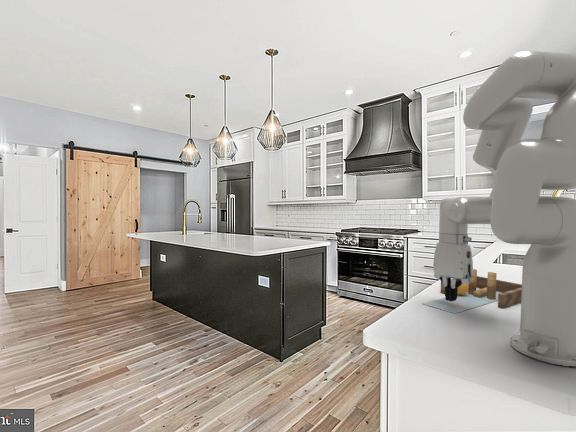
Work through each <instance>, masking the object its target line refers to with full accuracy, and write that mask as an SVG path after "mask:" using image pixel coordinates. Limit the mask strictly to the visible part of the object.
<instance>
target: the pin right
mask: <svg viewBox="0 0 576 432" xmlns="http://www.w3.org/2000/svg"><path fill="white" fill-rule="evenodd" d="M497 275H498V273H497V272H491V271H490V272H489V271H488V272H487V278H488V279H487V298H488V299H493V300H494V299H496V280H497Z"/></svg>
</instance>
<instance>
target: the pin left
mask: <svg viewBox="0 0 576 432" xmlns="http://www.w3.org/2000/svg"><path fill="white" fill-rule="evenodd" d="M477 276H478V270H477V269H474V268H473V276H472V277H471V278H470V280H471V283H470V284H468V285H469V289H468V291H467V292H468V294H471V295H473V292H474V291H476V290H477V288H476V286H477Z"/></svg>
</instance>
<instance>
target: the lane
mask: <svg viewBox="0 0 576 432" xmlns="http://www.w3.org/2000/svg"><path fill="white" fill-rule="evenodd" d="M479 289H480V288H477V290H479ZM500 293H502V292H497V291H496V299H494V300H493V299H488V298H487V295H486V296H483V297H480V298H478V297H474V296H473V295H471V294H468V291H467V293H466V294H464V295H457V299H456V300H455V301H452V302H451V301H449V300H448V301H447V300H445V297H443V298H439V299H434V300H431V301H426V302H423V303H421V304H422V305H424V304H425V305H424V306H427V305H428V306H427V307H430V306H431V307H430V308H433V309H437V310H440V309H441V310H440V311H444V312H447V313H450V314H459V313H461V312H465V311H468V310H471V309H474V308H478V307H481V306H485V305H488V304H492V303H495V302H498V294H500Z"/></svg>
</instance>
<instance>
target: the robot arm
mask: <svg viewBox="0 0 576 432" xmlns="http://www.w3.org/2000/svg"><path fill="white" fill-rule="evenodd" d="M530 99H535V100H553V101H554V100H555V101H556V102H555V103H554V104H552V106H551V107H550V109H549V110H548V112H547V113H546V115H545V117H544V120H543V124H542V132H541V135H540V139H539V138H528V139H527V138H525V139H522V137H523V135H524V133H525V131H526V128H527V126H528V123H529V121H530V119H531V116H532V115H533V108H534V106H533V103H532V101H531V100H530ZM462 120H463V124H464V125H465V127H467V129H470V130H475V131H476V130H477V131H478V130H479V131H481V133H480V135H479V138H478V142H477V144H476V146H475V148H474V152H473V155H472V160H473V162H475V163H476V164H477V165H479V166H480V167H483V168H485V169H487V170H489V171H490V172H491V174H492V176H493V186H492V189H491V191H490V194H489V196H459V197H455V198H454V197H451V198H450V197H449V198H448V197H447V198H443V199H441V200H440V202H439V221H438V222H439V227H438V229H439V232H438V242H437V243H436V245H435V249H434V255H433V264H432V265H433V266H432V267H433V268H432V269H433V277H434V278H436V279H438V280H439V281H440V283H441V282H442V283H443V286H444V287H445V294H444V298H445V300H447V301H448V300H449V301H451V302H452V301H455V300H456V299H457V293H458V287H460V286H461V285H462V284H470V283H471V280H470V278H471V277H472V276H473V269H474V264H473V261H474V259H473V254H472V248H471V245H469V244H468V243H471V242H472V240H473V238H472V237H470V236H469V234H468V225H490V227H491V228H490V229H491V230H492V233H493V235H494V236H495V237H496V238H497V239H498V240H500V242H501V241H502V242H503V243H505V244H511V245H512V244H513V245H529V247H528V249H527V251H526V253H525V255H524V258H523V261H522V271H521V272H522V273H521V284H522V295H521V303H520V323H519V324H520V327H519V328H520V329H519V334H515V335H513V336H511V337H510V346H511V347H512V348H513V349H514V350H516V351H517V352H519V353H521V354H523V355H525V356H527V357H530V358H532V359H535V360H537V361H541V362H544V363H548V364H552V365H556V366H561V365H562V366H563V367H569V366H576V199H574V198H571V197H570V198H569V197H565V196H549V195H548V196H544V195H541V192H542V190H543V191H545V190H546V191H549V190H550V191H561V190H562V191H567V190H575V189H576V53H575V54H574V53H566V52H549V51H539V50H524V51H519V52H517V53H516V52H515V53H514V54H512V55H511V56H509V57H507V59H505V60H504V61H503V62H501V64H500V65H499V66H498V67H497V68H496V69H495V70H494V72H492V74H491V75H490V76H489V77H488V78H487V79H486V80H485V81H484V82H483V83H482V84H481V85H480V86H479V87H478V89H476V90H475V91H474V93H473V95H472V96H471V97H470V99H469V100H468V102H467V103H466V106H465V108H464V111H463V115H462ZM521 139H522V140H521ZM451 279H452V280H451ZM462 279H463V280H462ZM562 366H561V367H562Z"/></svg>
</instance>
